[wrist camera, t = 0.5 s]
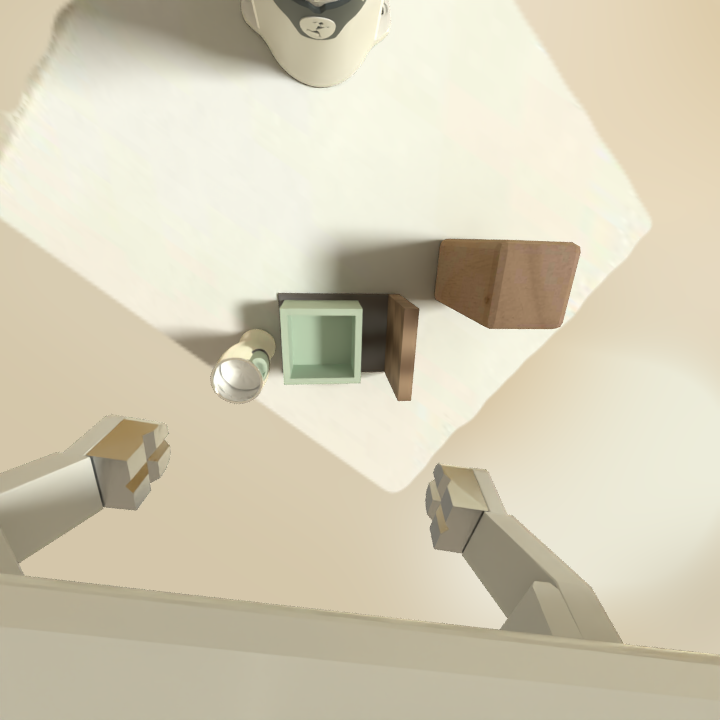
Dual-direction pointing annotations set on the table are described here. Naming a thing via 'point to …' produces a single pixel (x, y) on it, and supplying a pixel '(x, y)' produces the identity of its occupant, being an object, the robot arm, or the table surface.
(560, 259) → the wooden block
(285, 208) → the table surface
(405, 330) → the box
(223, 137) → the table surface
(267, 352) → the beer glass
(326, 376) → the sage green storage bin
